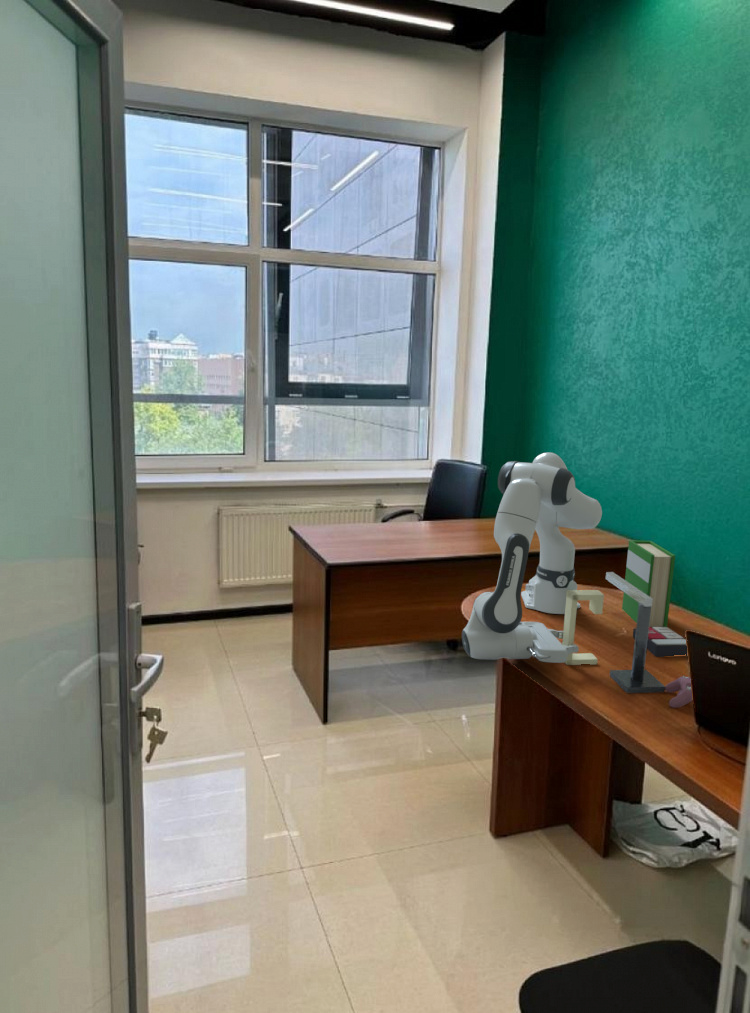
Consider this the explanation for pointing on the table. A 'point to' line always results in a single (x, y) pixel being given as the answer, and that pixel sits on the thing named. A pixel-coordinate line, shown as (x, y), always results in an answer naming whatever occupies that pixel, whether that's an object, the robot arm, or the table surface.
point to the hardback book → (649, 579)
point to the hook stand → (636, 644)
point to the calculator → (664, 642)
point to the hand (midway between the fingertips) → (570, 641)
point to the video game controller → (680, 691)
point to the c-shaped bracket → (570, 619)
